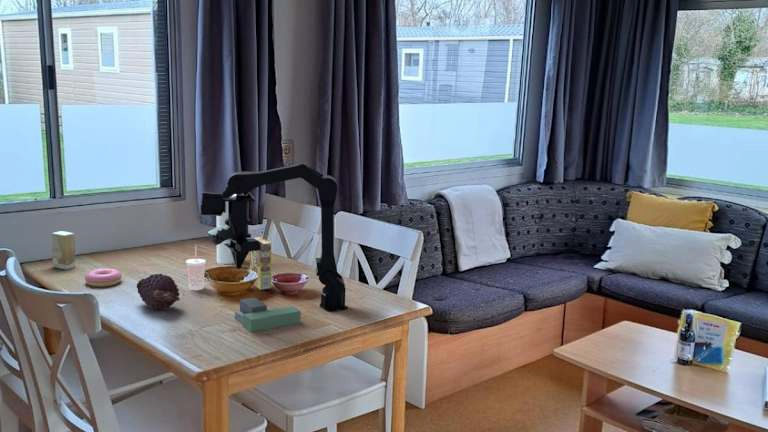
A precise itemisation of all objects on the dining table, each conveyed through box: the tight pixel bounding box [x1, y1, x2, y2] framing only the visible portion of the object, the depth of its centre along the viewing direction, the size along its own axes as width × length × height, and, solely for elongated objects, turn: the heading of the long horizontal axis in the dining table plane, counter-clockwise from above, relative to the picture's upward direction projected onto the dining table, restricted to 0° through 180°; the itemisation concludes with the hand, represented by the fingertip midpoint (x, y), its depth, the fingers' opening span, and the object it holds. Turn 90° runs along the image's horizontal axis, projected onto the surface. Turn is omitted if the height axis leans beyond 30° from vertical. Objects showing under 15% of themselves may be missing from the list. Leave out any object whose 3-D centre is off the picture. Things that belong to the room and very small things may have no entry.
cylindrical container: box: [216, 194, 237, 265], centre depth 246 cm, size 7×7×25 cm
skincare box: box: [51, 230, 76, 270], centre depth 231 cm, size 6×4×12 cm
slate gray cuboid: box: [239, 297, 268, 314], centre depth 190 cm, size 4×8×5 cm, turn 35°
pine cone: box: [136, 273, 181, 310], centre depth 195 cm, size 18×10×10 cm, turn 53°
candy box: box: [249, 237, 272, 291], centre depth 220 cm, size 9×4×15 cm, turn 33°
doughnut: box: [84, 267, 123, 288], centre depth 217 cm, size 11×11×4 cm
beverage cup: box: [185, 245, 207, 291], centre depth 214 cm, size 6×6×14 cm
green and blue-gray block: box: [234, 305, 302, 333], centre depth 189 cm, size 15×12×4 cm
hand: (238, 268), depth 197 cm, fingers closed
